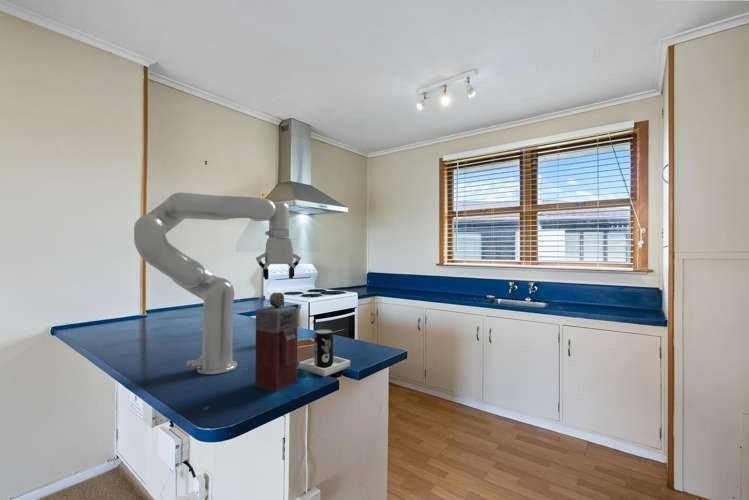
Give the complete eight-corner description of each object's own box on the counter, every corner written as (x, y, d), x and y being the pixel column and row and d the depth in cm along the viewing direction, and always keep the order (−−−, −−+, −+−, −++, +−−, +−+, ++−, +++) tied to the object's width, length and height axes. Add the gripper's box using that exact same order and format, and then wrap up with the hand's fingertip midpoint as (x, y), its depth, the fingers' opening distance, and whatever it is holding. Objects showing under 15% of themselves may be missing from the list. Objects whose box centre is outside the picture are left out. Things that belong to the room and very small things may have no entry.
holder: (294, 363, 125) (294, 348, 125) (284, 355, 134) (284, 341, 135) (321, 358, 131) (321, 344, 131) (311, 351, 140) (311, 338, 140)
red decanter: (283, 392, 98) (284, 295, 99) (254, 386, 103) (255, 293, 104) (303, 382, 106) (303, 292, 107) (275, 376, 111) (276, 290, 112)
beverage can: (337, 364, 122) (336, 330, 122) (325, 369, 116) (325, 334, 116) (322, 361, 125) (322, 328, 125) (310, 366, 119) (310, 331, 119)
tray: (324, 376, 111) (324, 369, 112) (298, 368, 119) (298, 362, 119) (350, 366, 121) (350, 360, 121) (325, 359, 129) (325, 354, 129)
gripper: (258, 233, 126) (258, 280, 125) (303, 235, 135) (303, 278, 135) (253, 234, 132) (253, 279, 132) (297, 235, 141) (297, 277, 141)
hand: (278, 278), depth 133 cm, fingers open, 9 cm apart
